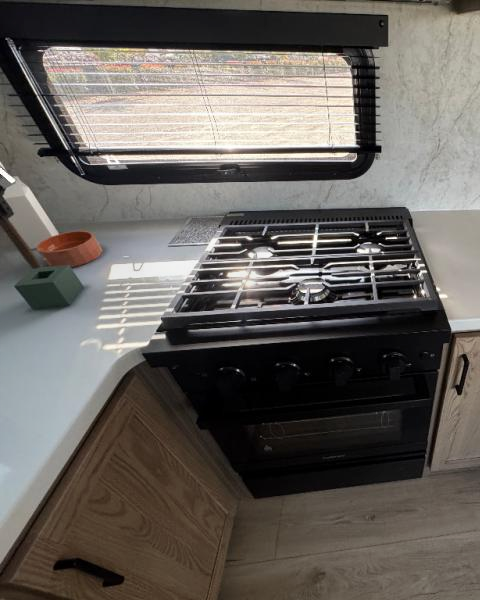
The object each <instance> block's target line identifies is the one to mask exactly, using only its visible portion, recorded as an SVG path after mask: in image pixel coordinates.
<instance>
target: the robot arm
mask: <svg viewBox="0 0 480 600" xmlns="http://www.w3.org/2000/svg"><path fill="white" fill-rule="evenodd" d="M12 177H13V176H11V175H10V174H8V172H7V170H6V168H5V166H4V165H3V163H2V162H1V161H0V220H7V219H8V218H10V217H11V216H13V215H14V212H13V211H12V209H11V207H10V206H9V204H8V203H7V202H6V200H5V199H4V197H3V195H5V193H4V192H5V190H6V188H7V187H9V186H11V185H13V184H15V183H16V181H15V180H14V179H13V178H12Z"/></svg>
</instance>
